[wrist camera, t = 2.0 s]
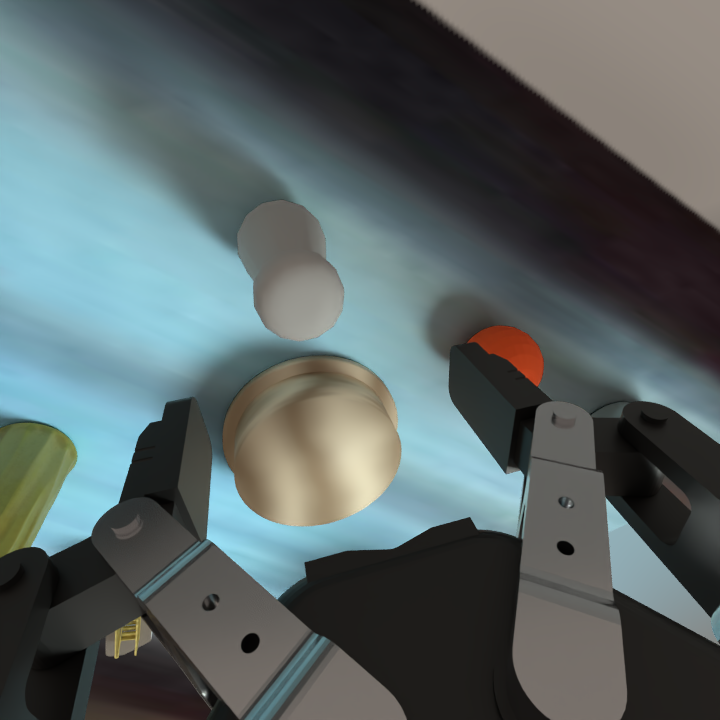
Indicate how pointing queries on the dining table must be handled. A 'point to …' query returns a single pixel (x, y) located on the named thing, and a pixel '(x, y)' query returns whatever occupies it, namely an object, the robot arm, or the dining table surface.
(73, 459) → the vase
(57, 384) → the dining table surface
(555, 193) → the dining table surface
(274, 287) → the salt shaker
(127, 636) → the platform
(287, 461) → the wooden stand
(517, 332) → the clementine
